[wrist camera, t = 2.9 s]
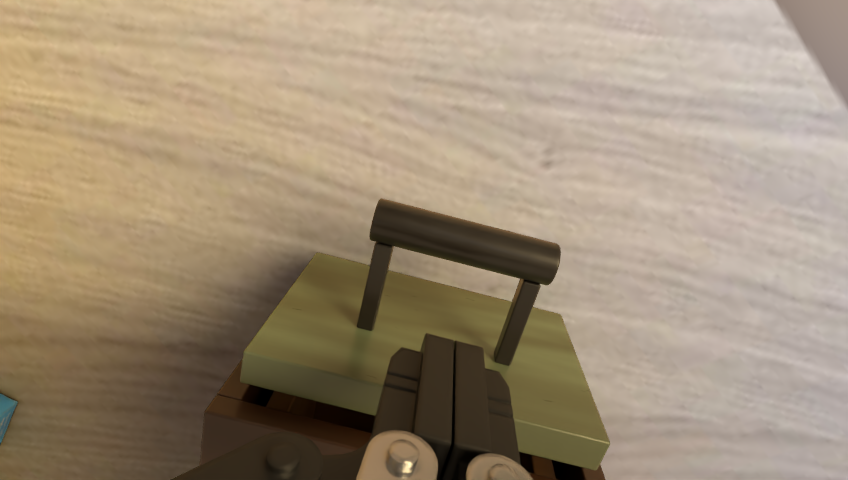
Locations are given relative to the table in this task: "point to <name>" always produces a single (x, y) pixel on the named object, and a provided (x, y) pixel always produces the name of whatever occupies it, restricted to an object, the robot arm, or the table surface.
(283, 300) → the drawer
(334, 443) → the cabinet
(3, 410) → the ink box
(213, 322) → the table surface
